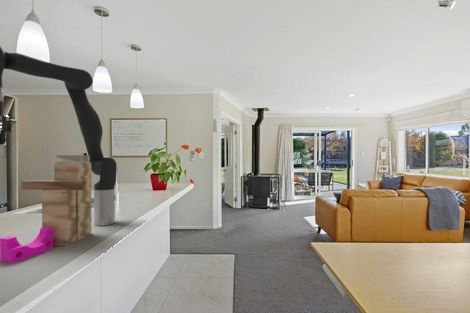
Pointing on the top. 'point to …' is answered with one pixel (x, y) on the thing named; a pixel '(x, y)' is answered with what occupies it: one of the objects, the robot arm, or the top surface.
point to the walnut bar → (53, 185)
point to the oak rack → (69, 201)
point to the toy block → (25, 246)
